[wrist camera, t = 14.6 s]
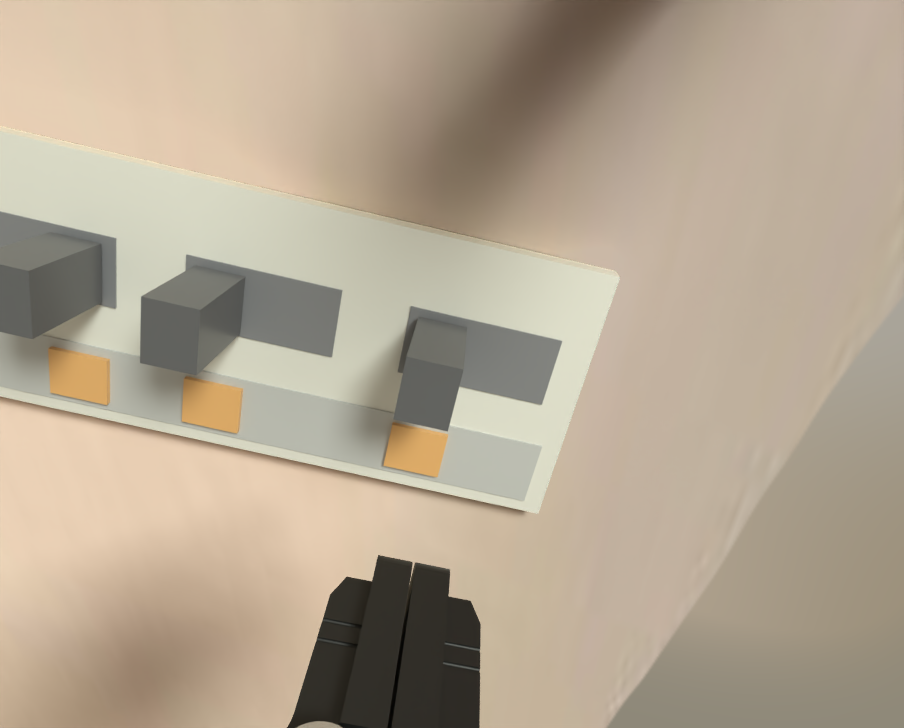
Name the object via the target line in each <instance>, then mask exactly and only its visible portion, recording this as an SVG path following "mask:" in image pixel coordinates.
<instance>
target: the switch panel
mask: <svg viewBox="0 0 904 728" xmlns="http://www.w3.org/2000/svg"><path fill="white" fill-rule="evenodd" d="M48 232H53V233H58V234H62V235H66V236H71V237H75V238H79V239H84V240H88V241H92V242H97V243H101V266H102V303H100V304H98V305H96V306H94V307H93V308H91V309H89V310H87V311H85V312H83V313H81V314H79V315H77V316H76V317H74V318H72V319H70V320H68V321H66V322H64V323H62V324H60V325H59V326H57V327H55V328H53V329H51V330H49V331H47V332H45V333H43V334H42V335H40V336H38V337H36V338H34V339H30V338H25V337H21V336H16V335H12V334H7V333H3V332H0V397H5V398H10V399H14V400H19V401H23V402H28V403H33V404H37V405H42V406H46V407H51V408H55V409H60V410H65V411H69V412H74V413H78V414H83V415H88V416H92V417H97V418H101V419H106V420H110V421H115V422H120V423H124V424H129V425H133V426H138V427H143V428H147V429H152V430H156V431H161V432H165V433H170V434H175V435H179V436H184V437H188V438H193V439H198V440H202V441H207V442H211V443H216V444H220V445H225V446H230V447H234V448H239V449H243V450H248V451H253V452H257V453H262V454H266V455H271V456H275V457H280V458H285V459H289V460H294V461H298V462H303V463H308V464H312V465H317V466H321V467H326V468H330V469H335V470H340V471H344V472H349V473H353V474H358V475H363V476H367V477H372V478H376V479H381V480H385V481H390V482H395V483H399V484H404V485H408V486H413V487H418V488H422V489H427V490H431V491H436V492H441V493H445V494H450V495H454V496H459V497H463V498H468V499H473V500H477V501H482V502H486V503H491V504H496V505H500V506H505V507H509V508H514V509H518V510H523V511H528V512H532V513H537V514H538V512H539V509H540V507H541V504H542V501H543V498H544V495H545V492H546V489H547V486H548V484H549V481H550V478H551V475H552V472H553V469H554V466H555V463H556V461H557V458H558V455H559V452H560V449H561V446H562V443H563V440H564V437H565V435H566V432H567V429H568V426H569V423H570V420H571V417H572V414H573V412H574V409H575V406H576V403H577V400H578V397H579V394H580V391H581V389H582V386H583V383H584V380H585V377H586V374H587V371H588V368H589V366H590V363H591V360H592V357H593V354H594V351H595V348H596V345H597V342H598V340H599V337H600V334H601V331H602V328H603V325H604V322H605V319H606V317H607V314H608V311H609V308H610V305H611V302H612V299H613V296H614V294H615V291H616V288H617V285H618V282H619V279H620V276H619V275H618V274H617V272H616V271H614V270H610V269H606V268H602V267H597V266H593V265H589V264H585V263H581V262H576V261H572V260H568V259H564V258H559V257H555V256H551V255H547V254H542V253H538V252H534V251H530V250H525V249H521V248H517V247H513V246H508V245H504V244H500V243H496V242H492V241H487V240H483V239H479V238H475V237H470V236H466V235H462V234H458V233H453V232H449V231H445V230H441V229H436V228H432V227H428V226H424V225H420V224H415V223H411V222H407V221H403V220H398V219H394V218H390V217H386V216H381V215H377V214H373V213H369V212H364V211H360V210H356V209H352V208H347V207H343V206H339V205H335V204H331V203H326V202H322V201H318V200H314V199H309V198H305V197H301V196H297V195H292V194H288V193H284V192H280V191H275V190H271V189H267V188H263V187H258V186H254V185H250V184H246V183H242V182H237V181H233V180H229V179H225V178H220V177H216V176H212V175H208V174H203V173H199V172H195V171H191V170H186V169H182V168H178V167H174V166H169V165H165V164H161V163H157V162H153V161H148V160H144V159H140V158H136V157H131V156H127V155H123V154H119V153H114V152H110V151H106V150H102V149H97V148H93V147H89V146H85V145H80V144H76V143H72V142H68V141H64V140H59V139H55V138H51V137H47V136H42V135H38V134H34V133H30V132H25V131H21V130H17V129H13V128H8V127H4V126H0V247H3V246H6V245H9V244H12V243H16V242H19V241H22V240H25V239H29V238H32V237H35V236H39V235H42V234H45V233H48ZM195 265H197V266H201V267H206V268H210V269H214V270H219V271H223V272H227V273H232V274H236V275H240V276H245V286H244V298H243V309H242V321H241V332H240V335H239V336H237V337H236V338H235V339H234V340H233V341H232V342H231V343H230V344H229V345H228V346H227V347H226V348H225V349H224V350H223V351H222V352H221V353H220V354H219V355H218V356H217V357H215V358H214V359H213V360H212V361H211V362H210V363H209V364H208V365H207V366H206V367H205V368H204V369H203V370H202V371H201V372H200V373H199V374H198V375H197V376H196V375H191V374H187V373H182V372H178V371H173V370H169V369H164V368H160V367H156V366H151V365H147V364H142V363H140V327H141V296H143V295H144V294H146V293H148V292H150V291H151V290H153V289H155V288H157V287H158V286H160V285H162V284H164V283H165V282H167V281H169V280H171V279H172V278H174V277H176V276H178V275H179V274H181V273H183V272H185V271H186V270H188V269H190V268H192V267H193V266H195ZM419 317H423V318H428V319H432V320H436V321H441V322H445V323H449V324H454V325H458V326H462V327H467V337H466V348H465V360H464V370H463V374H462V378H461V382H460V386H459V390H458V394H457V398H456V402H455V405H454V409H453V413H452V417H451V421H450V425H449V429H448V431H443V430H439V429H434V428H430V427H425V426H421V425H416V424H412V423H407V422H403V421H398V420H394V419H393V418H394V413H395V408H396V404H397V399H398V394H399V389H400V385H401V380H402V375H403V370H404V366H405V361H406V356H407V353H408V350H409V347H410V343H411V340H412V337H413V334H414V331H415V327H416V324H417V321H418V318H419Z"/></svg>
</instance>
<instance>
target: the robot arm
mask: <svg viewBox="0 0 904 728" xmlns="http://www.w3.org/2000/svg"><path fill="white" fill-rule="evenodd" d="M411 570H412V562H410V561H405V560H400V559H395V558H390V557H385V556H380V555H378V559H377V563H376V567H375V572H374V576H373V580H372V582H371V581H366V580H361V579H356V578H351V577H346V578H345V579H344V580H343V581H342V583H341V584H340V585H339V586H338V587H337V588H336V589H335V590H334V591H333V592H332V593H331V594H330V598H329V601H328V604H327V607H326V611H325V614H324V617H323V621H322V624H321V627H320V630H319V634H318V637H317V641H316V643H315V647H314V650H313V653H312V656H311V660H310V663H309V666H308V670H307V673H306V676H305V679H304V683H303V686H302V689H301V692H300V696H299V699H298V702H297V705H296V709H295V712H294V715H293V717H292V720H291V722H290V724H289V725H288V727H287V728H479V710H480V673H479V670H480V622H479V619H478V617H477V615H476V612H475V610H474V608H473V605H472V603H471V601H468V600H463V599H458V598H453V597H448V594H449V580H450V569H446V568H441V567H436V566H431V565H426V564H421V563H415V565H414V569H413V573H412V577H411ZM410 577H411V581H410ZM409 583H410V585H409Z"/></svg>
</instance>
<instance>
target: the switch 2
mask: <svg viewBox="0 0 904 728" xmlns="http://www.w3.org/2000/svg"><path fill="white" fill-rule="evenodd" d="M466 337H467V327H462V326H458V325H454V324H449V323H445V322H441V321H436V320H432V319H428V318H423V317H419V318H418V321H417V324H416V327H415V331H414V334H413V337H412V340H411V343H410V347H409V350H408V353H407V356H406V361H405V366H404V370H403V375H402V380H401V385H400V389H399V394H398V399H397V404H396V408H395V413H394V418H393V419H394V420H398V421H403V422H407V423H412V424H416V425H421V426H425V427H430V428H434V429H439V430H443V431H448V429H449V425H450V421H451V417H452V413H453V409H454V405H455V402H456V398H457V394H458V390H459V386H460V382H461V378H462V374H463V370H464V360H465V348H466Z"/></svg>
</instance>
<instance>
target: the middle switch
mask: <svg viewBox="0 0 904 728" xmlns="http://www.w3.org/2000/svg"><path fill="white" fill-rule="evenodd" d="M244 286H245V276H240V275H236V274H232V273H227V272H223V271H219V270H214V269H210V268H206V267H201V266H197V265H195V266H193V267H192V268H190V269H188V270H186V271H185V272H183V273H181V274H179V275H178V276H176V277H174V278H172V279H171V280H169V281H167V282H165V283H164V284H162V285H160V286H158V287H157V288H155V289H153V290H151V291H150V292H148V293H146V294H144V295H143V296H141V327H140V363H142V364H147V365H151V366H156V367H160V368H164V369H169V370H173V371H178V372H182V373H187V374H191V375H196V376H197V375H198V374H199V373H200V372H201V371H202V370H203V369H204V368H205V367H206V366H207V365H208V364H209V363H210V362H211V361H212V360H213V359H214V358H215V357H217V356H218V355H219V354H220V353H221V352H222V351H223V350H224V349H225V348H226V347H227V346H228V345H229V344H230V343H231V342H232V341H233V340H234V339H235V338H236V337H237V336H239V335H240V332H241V321H242V309H243V298H244Z"/></svg>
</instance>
